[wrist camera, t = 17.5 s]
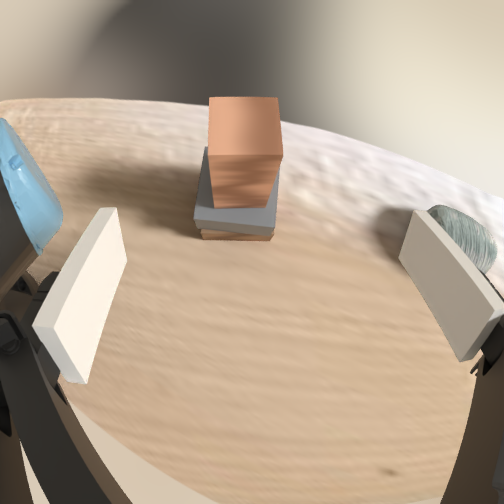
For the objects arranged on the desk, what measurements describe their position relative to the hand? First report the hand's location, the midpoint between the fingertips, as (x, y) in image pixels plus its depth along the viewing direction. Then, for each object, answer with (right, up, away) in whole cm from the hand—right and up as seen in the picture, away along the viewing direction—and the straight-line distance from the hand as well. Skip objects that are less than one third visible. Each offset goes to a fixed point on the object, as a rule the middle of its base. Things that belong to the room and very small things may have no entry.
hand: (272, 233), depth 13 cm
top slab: (-2, +5, +22) cm, 23 cm away
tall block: (-2, +6, +18) cm, 19 cm away
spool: (+27, 0, +28) cm, 38 cm away
